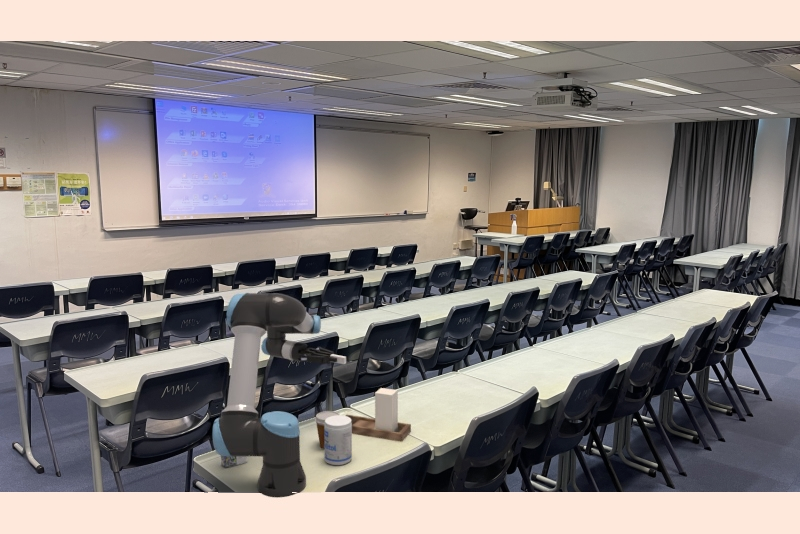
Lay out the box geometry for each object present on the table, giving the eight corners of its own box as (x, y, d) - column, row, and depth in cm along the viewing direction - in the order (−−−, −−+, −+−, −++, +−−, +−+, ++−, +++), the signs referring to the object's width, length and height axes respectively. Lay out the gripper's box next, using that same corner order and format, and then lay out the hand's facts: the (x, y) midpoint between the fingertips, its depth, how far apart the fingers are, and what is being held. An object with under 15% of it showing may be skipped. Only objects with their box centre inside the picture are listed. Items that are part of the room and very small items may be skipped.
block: (375, 430, 224) (374, 392, 222) (381, 424, 230) (381, 387, 228) (392, 432, 222) (391, 395, 220) (397, 426, 227) (397, 390, 225)
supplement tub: (319, 462, 202) (318, 422, 200) (334, 451, 211) (333, 412, 209) (342, 468, 198) (341, 427, 196) (357, 457, 206) (356, 417, 204)
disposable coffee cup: (310, 448, 213) (309, 417, 211) (325, 438, 221) (324, 408, 220) (331, 454, 209) (331, 422, 207) (346, 443, 217) (345, 413, 215)
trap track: (335, 430, 229) (335, 423, 228) (346, 421, 238) (346, 414, 238) (401, 441, 219) (401, 434, 218) (410, 431, 228) (410, 424, 228)
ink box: (247, 462, 202) (245, 422, 200) (224, 468, 198) (222, 428, 196) (243, 458, 205) (242, 419, 203) (221, 464, 201) (219, 424, 199)
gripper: (305, 354, 243) (354, 364, 233) (286, 365, 232) (336, 375, 222) (304, 337, 242) (353, 346, 232) (285, 347, 230) (336, 356, 220)
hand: (345, 360), depth 227 cm, fingers closed
